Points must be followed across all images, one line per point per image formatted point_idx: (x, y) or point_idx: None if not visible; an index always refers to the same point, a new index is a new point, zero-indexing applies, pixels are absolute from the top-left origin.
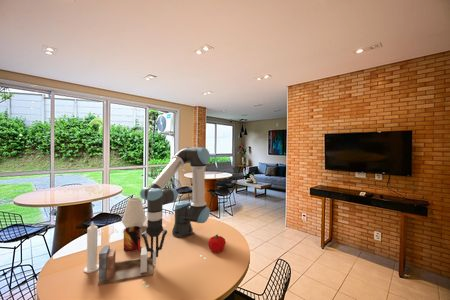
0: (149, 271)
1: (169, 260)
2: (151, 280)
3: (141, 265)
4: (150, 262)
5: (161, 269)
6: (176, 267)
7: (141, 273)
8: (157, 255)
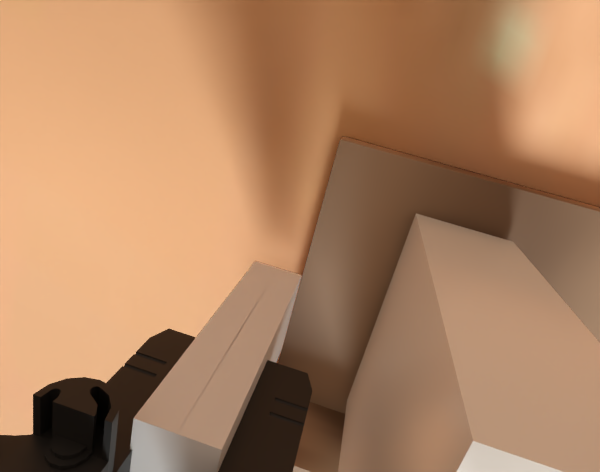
0: (373, 213)
1: (85, 324)
2: (403, 8)
3: (543, 292)
4: None
5: (207, 200)
6: (25, 127)
7: (495, 235)
8: (156, 352)
